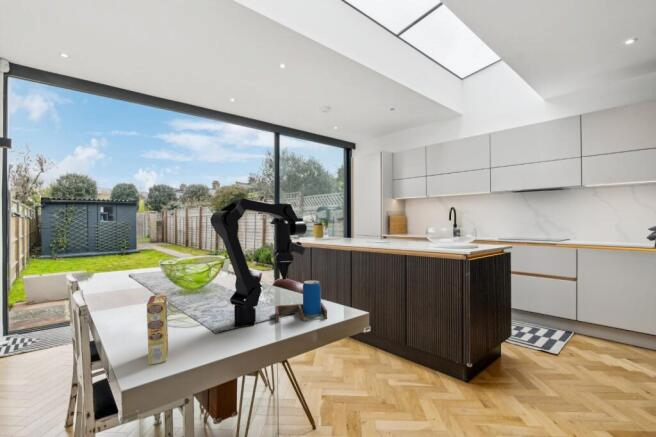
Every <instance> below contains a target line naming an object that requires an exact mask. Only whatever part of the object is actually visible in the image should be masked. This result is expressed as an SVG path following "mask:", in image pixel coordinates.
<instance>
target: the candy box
mask: <svg viewBox="0 0 656 437" xmlns="http://www.w3.org/2000/svg"><path fill="white" fill-rule="evenodd" d="M167 296H168V295H167V294H158V295H151V296H149V299H148V301H147V303H146V322H147V324H146V328H147V349H148V351H147V352H148V354H147V355H148V356H147V357H148V359H147V360H148V366H150V365H156V364H162V363H166V362H167V359H168V352H169V334H168V333H169V332H168V330H169V328H168V306H167V305H168V302H167V301H168V300H167Z"/></svg>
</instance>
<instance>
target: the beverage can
mask: <svg viewBox="0 0 656 437" xmlns="http://www.w3.org/2000/svg"><path fill="white" fill-rule="evenodd" d="M321 290H322V286H321V283H320V281H319V280H314V279H312V280H311V279H310V280H305V281H303V284H302V304H303V314H305V316H307V317H316V316H318V315H319V314H320V313H321V303H322V298H321V297H322V295H321V294H322V291H321Z"/></svg>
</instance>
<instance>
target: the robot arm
mask: <svg viewBox="0 0 656 437" xmlns="http://www.w3.org/2000/svg"><path fill="white" fill-rule="evenodd" d="M245 212H253V213H259V214H267V215H268V216H270V217H273V219H272V221H271V222H270V225H274V228H275V229H274V230H275V231H274V233H275V235H274V236H275V238H274V242H275V249H274V250H273V256H274V260H275V263H276V266H277V268H278V270H279V273H280V275H281V276H280V277H281V279H282V280H283V281H284V280H287V274H288V270H289V266H290V265H291V264H293V262H294V254H293V253H297V254H299V255H301V256H304V254H305V251H306V248H307V247H306V246H304V245H302V242H299V241H296V242H293V240H292V238H291V236H301V235H302V236H303V235H305V234H306V233H307V229H308V228H307V226H308V225H307V224H306V222H305V221H304V218H303V217H298V216H297V214H296V213H295V211H294V208H293V206H292V204H291V203H289V202H282V203H281V202H279V203H270V202H266V201H265V202H264V201H260V200H255V199H254V200H253V199H250V198H246V197H239V198H235V199H233V200H232V202H230V203H229V204H227V205H225V206H224V207H223V208H221V209H220V210H218V211H215V212H213V213H212V215H211V217H210V224H211V226H212V229H213V230H214V231H215V233H216V234H217V235H218V236H219V237H220V238H221V240H222V242H223V245H224V248H225V250H226V253H227V255H228V259H229V261H230V265H231V267H232V269H233V272H234V275H235V284H234V285H235V291H234V292H233V294H232V296H231V297H230V298H229V301H230V304H231V305H233V306H234V307H233V308H234V309H233V310H234V311H233V313H234V314H233V316H234V324H233V327H235V328H237V327H246V326H247V327H249V326H250V327H251V326H252V327H253V326H255V323H256V320H257V317H256V313H257V312H256V307H257V306H259V305H258V303H259V301H260V297H261V294H262V291H263V290H262V288H263V285H262V284H261V282H260V278H259V276H257V275H253V274H252V273H251V271H250V269H249V266H248V263H247V260H246V257H245V256H246V255H245V254H244V251H243V247H242V244H241V241H240V238H239V235H238V234H239V220H240V219H241V218H242V217H244V214H245Z"/></svg>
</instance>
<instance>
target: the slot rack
mask: <svg viewBox="0 0 656 437" xmlns="http://www.w3.org/2000/svg"><path fill="white" fill-rule="evenodd" d="M274 309H275V310H274V311H275V313H274V315H275V320H276V321H275V322H276V323H280V315H287V314H288V315H290V314H298V316H299V319H300V321H310V320H311V321H312V320H324V319H325V320H327V319H328V309H327V308H326V306H325V305H324V303H323V302H321V313H320V314H319V315H318V316H316V317H307V316H305V314H303V303H296V304H279V305H277V304H276V305H274Z"/></svg>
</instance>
